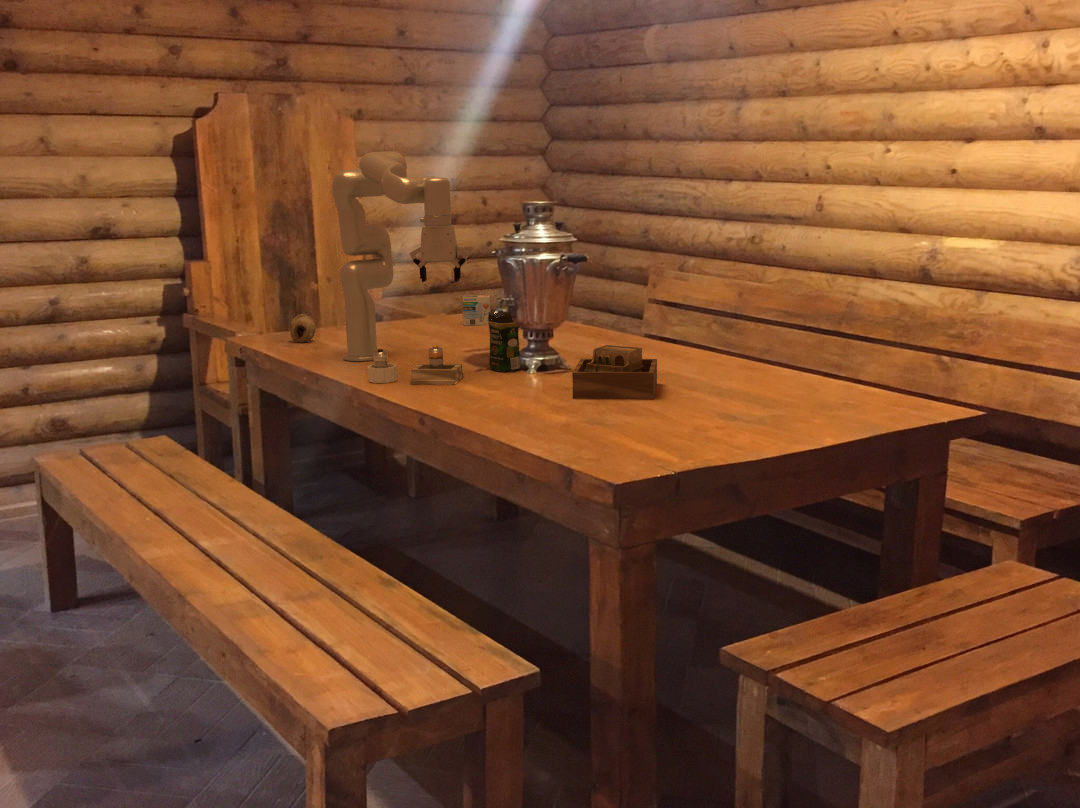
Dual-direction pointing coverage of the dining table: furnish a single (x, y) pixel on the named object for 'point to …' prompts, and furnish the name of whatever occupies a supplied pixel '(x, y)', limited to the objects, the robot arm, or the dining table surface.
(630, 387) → the open brown storage box
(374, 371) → the beige piece
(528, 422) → the dining table surface
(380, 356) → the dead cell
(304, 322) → the tan rounded piece
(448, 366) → the tray
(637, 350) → the miniature house
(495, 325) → the coffee jar
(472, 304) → the light bulb box
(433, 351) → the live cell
